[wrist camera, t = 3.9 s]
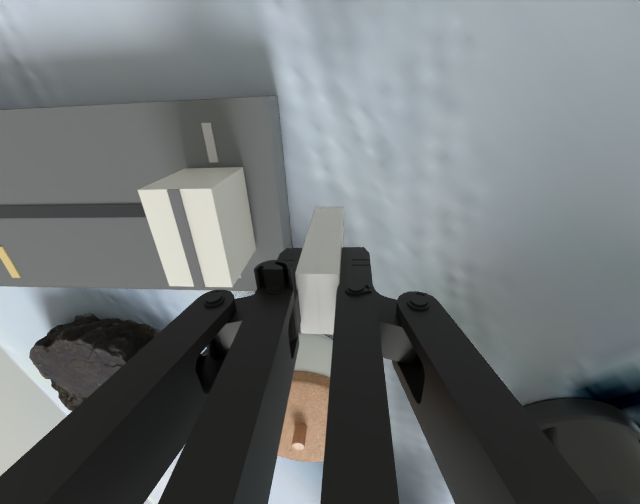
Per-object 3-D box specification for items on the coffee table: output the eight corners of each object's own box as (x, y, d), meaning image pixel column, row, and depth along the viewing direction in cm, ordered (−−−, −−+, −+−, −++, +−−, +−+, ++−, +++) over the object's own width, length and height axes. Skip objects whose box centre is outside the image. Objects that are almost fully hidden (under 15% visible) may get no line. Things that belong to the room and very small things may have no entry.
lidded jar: (289, 396, 35) (270, 489, 27) (243, 329, 31) (203, 415, 23) (378, 377, 32) (387, 475, 24) (340, 300, 28) (335, 387, 20)
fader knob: (242, 166, 20) (209, 189, 15) (256, 249, 22) (231, 288, 18) (184, 168, 20) (135, 190, 16) (204, 248, 23) (168, 287, 18)
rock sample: (36, 337, 35) (-9, 372, 31) (119, 281, 30) (79, 313, 25) (148, 423, 41) (123, 462, 37) (233, 389, 36) (216, 430, 32)
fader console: (277, 95, 20) (265, 96, 18) (294, 272, 27) (288, 292, 24) (-76, 113, 23) (-133, 116, 21) (16, 268, 30) (-18, 286, 27)
